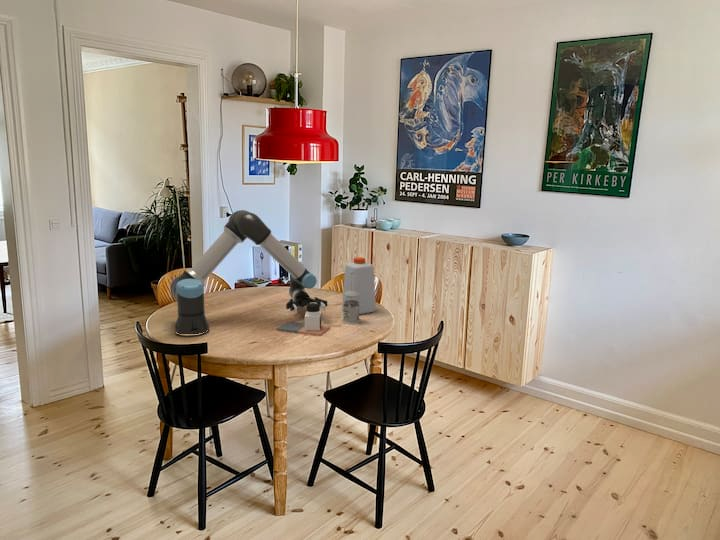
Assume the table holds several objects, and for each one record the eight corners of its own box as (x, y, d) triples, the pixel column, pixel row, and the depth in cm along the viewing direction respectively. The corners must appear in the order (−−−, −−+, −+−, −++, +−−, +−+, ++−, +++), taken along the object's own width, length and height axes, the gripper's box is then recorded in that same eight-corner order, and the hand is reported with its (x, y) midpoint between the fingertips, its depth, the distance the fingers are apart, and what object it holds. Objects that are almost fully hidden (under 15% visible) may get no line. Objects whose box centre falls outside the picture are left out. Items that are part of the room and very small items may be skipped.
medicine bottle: (320, 331, 249) (320, 305, 247) (304, 330, 249) (304, 305, 247) (321, 326, 256) (321, 301, 254) (306, 325, 256) (306, 301, 254)
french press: (343, 324, 262) (344, 274, 257) (338, 317, 273) (338, 269, 268) (363, 323, 265) (364, 273, 260) (357, 316, 276) (357, 268, 271)
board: (320, 336, 246) (320, 333, 245) (276, 330, 252) (276, 328, 252) (330, 328, 257) (330, 326, 257) (287, 323, 264) (287, 321, 263)
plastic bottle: (362, 305, 297) (363, 254, 291) (378, 312, 284) (379, 259, 278) (339, 309, 289) (339, 257, 283) (354, 316, 276) (354, 262, 270)
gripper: (325, 303, 281) (336, 315, 262) (276, 306, 274) (284, 319, 254) (325, 289, 280) (336, 300, 260) (276, 292, 272) (284, 303, 252)
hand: (310, 309), depth 257 cm, fingers open, 13 cm apart
